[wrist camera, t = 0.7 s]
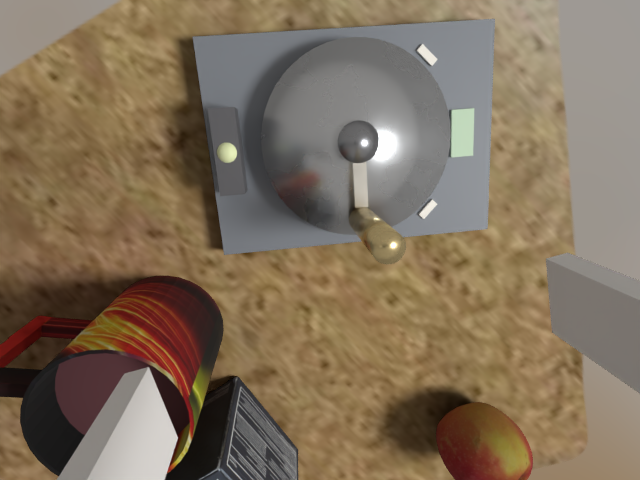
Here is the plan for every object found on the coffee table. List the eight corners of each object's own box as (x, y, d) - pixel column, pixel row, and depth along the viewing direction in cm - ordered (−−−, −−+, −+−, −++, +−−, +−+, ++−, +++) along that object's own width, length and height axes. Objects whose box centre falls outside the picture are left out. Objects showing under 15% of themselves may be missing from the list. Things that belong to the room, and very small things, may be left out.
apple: (440, 462, 41) (477, 537, 33) (416, 401, 39) (449, 467, 31) (508, 434, 41) (561, 503, 33) (487, 372, 39) (538, 430, 31)
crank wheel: (272, 239, 31) (268, 279, 22) (251, 47, 28) (236, 4, 19) (443, 223, 32) (505, 255, 23) (444, 35, 29) (518, -11, 20)
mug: (42, 311, 33) (-88, 404, 21) (199, 260, 33) (155, 326, 22) (93, 403, 36) (2, 531, 24) (238, 356, 36) (218, 461, 24)
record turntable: (226, 249, 33) (219, 264, 29) (197, 41, 29) (183, 26, 25) (478, 225, 35) (504, 236, 31) (484, 24, 31) (514, 7, 27)
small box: (179, 409, 37) (140, 512, 26) (237, 372, 36) (220, 463, 26) (245, 482, 39) (233, 602, 29) (300, 449, 39) (306, 558, 29)
